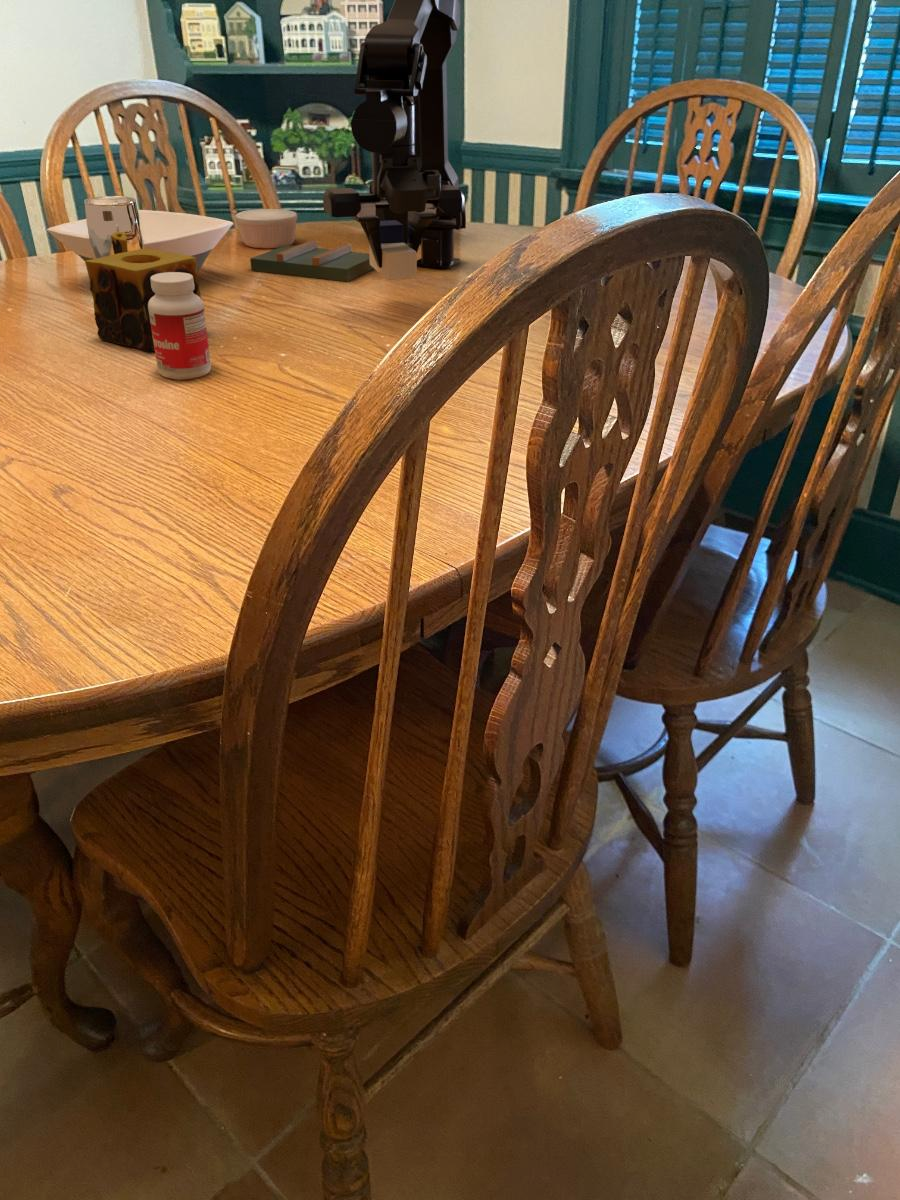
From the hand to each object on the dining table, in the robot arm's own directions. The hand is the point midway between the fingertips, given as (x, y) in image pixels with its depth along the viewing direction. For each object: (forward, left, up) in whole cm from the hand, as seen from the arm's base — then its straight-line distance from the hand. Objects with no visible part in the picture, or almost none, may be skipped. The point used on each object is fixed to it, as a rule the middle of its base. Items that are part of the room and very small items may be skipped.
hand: (395, 266), depth 128 cm
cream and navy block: (-1, -1, -1) cm, 2 cm away
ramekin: (-33, -41, -7) cm, 53 cm away
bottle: (-51, -19, -7) cm, 55 cm away
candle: (+25, -24, -7) cm, 35 cm away
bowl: (0, -43, -7) cm, 43 cm away
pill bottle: (+35, -12, -7) cm, 37 cm away
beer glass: (+17, -34, -7) cm, 38 cm away
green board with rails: (-19, -23, -6) cm, 31 cm away
